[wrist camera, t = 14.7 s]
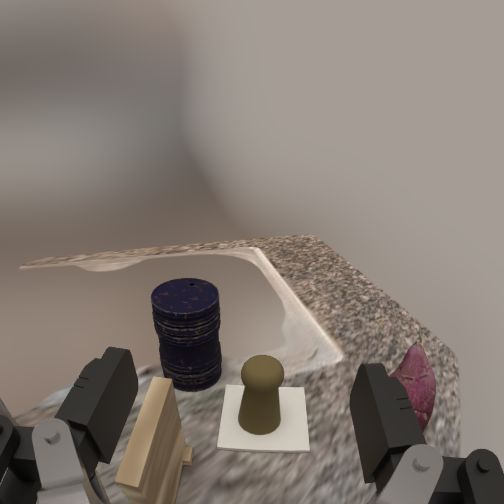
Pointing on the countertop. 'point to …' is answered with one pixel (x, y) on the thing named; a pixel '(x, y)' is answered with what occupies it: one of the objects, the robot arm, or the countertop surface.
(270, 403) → the cork
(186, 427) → the countertop surface
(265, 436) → the coaster
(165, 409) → the maple board
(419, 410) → the vegetable
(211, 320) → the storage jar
